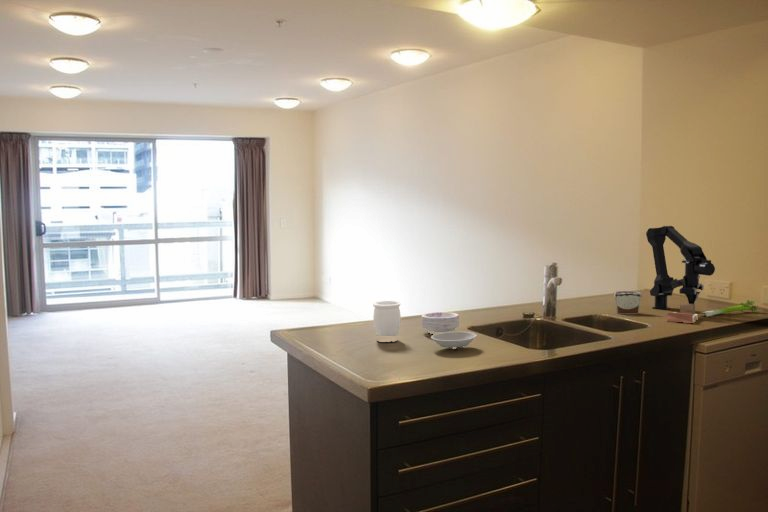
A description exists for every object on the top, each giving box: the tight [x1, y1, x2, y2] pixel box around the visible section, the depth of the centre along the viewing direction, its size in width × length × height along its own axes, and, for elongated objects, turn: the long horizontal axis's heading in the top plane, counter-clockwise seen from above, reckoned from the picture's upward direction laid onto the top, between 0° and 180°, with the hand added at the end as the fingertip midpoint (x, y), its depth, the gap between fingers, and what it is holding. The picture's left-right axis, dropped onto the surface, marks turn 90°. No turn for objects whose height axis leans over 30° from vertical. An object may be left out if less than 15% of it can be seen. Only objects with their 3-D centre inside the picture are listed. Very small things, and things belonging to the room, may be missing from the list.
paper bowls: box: [421, 311, 460, 332], centre depth 250 cm, size 15×15×8 cm
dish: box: [430, 331, 478, 349], centre depth 223 cm, size 18×14×5 cm
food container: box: [613, 290, 643, 315], centre depth 287 cm, size 12×6×10 cm, turn 84°
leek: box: [699, 300, 759, 318], centre depth 279 cm, size 6×7×30 cm
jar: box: [372, 300, 402, 336], centre depth 238 cm, size 11×10×15 cm
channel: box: [666, 311, 699, 324], centre depth 266 cm, size 11×10×4 cm
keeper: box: [679, 302, 696, 315], centre depth 273 cm, size 5×5×6 cm
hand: (691, 307), depth 278 cm, fingers closed
